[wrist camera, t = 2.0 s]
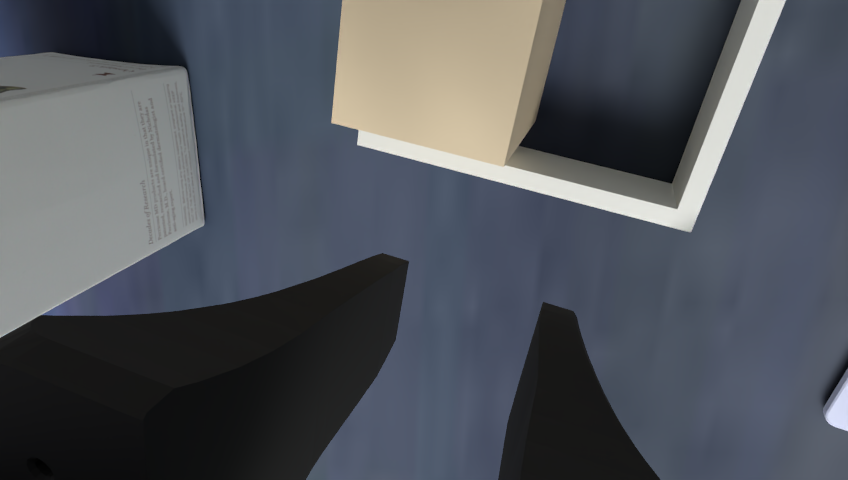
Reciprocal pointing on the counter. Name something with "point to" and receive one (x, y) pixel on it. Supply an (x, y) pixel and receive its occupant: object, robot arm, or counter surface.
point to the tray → (620, 188)
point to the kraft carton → (445, 71)
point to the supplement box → (89, 174)
